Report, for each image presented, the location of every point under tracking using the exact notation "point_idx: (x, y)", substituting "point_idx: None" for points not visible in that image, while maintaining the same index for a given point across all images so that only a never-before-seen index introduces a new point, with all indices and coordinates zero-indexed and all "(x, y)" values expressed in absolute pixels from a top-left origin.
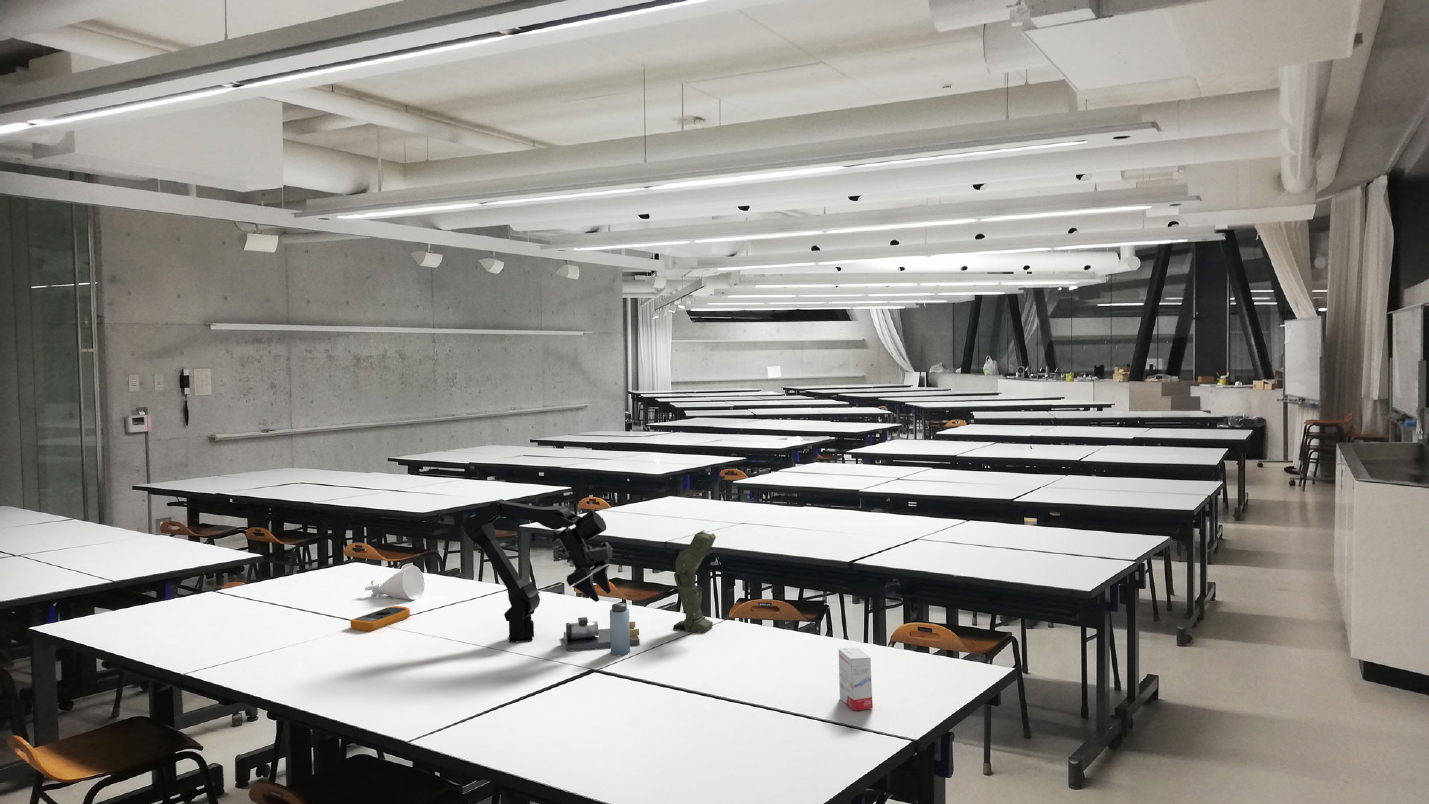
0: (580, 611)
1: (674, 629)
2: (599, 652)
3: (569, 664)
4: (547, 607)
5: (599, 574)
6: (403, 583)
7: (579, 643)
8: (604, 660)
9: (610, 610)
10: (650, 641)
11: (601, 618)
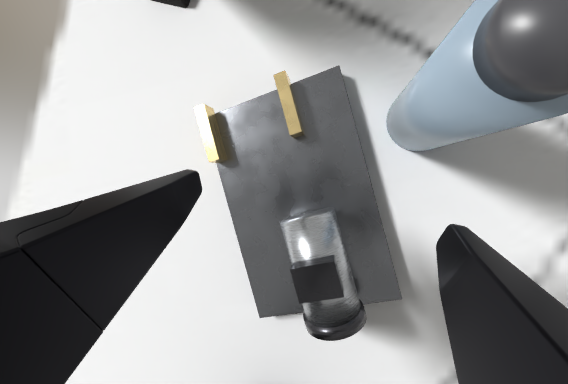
0: None
1: (189, 1)
2: (415, 187)
3: (552, 268)
4: None
5: (14, 323)
6: None
7: (379, 260)
8: (511, 156)
9: (538, 113)
10: (302, 47)
11: None
